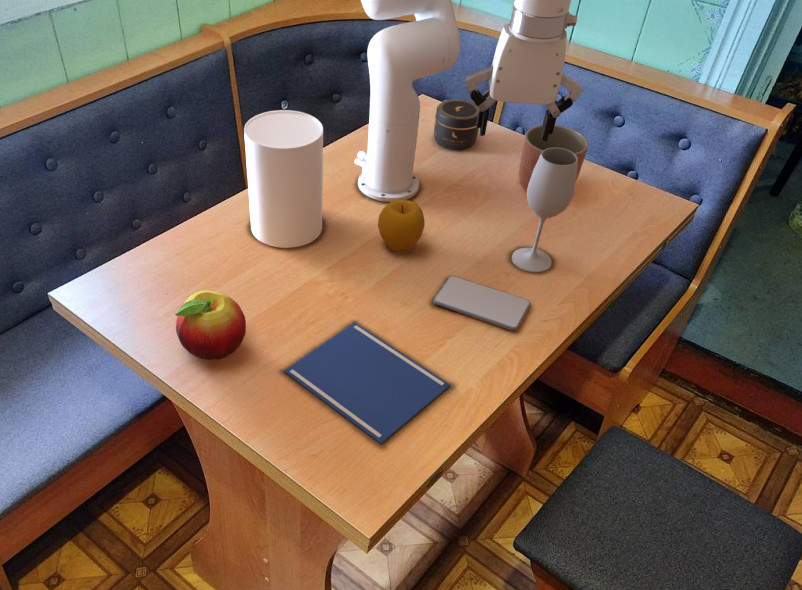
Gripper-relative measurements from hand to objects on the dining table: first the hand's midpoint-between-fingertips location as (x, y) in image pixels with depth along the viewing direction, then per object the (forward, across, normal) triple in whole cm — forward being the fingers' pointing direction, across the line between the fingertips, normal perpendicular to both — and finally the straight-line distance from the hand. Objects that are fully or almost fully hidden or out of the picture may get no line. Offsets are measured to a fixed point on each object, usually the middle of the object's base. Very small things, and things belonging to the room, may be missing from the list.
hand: (512, 134), depth 114 cm
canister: (+26, +38, -6) cm, 46 cm away
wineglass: (+26, -9, -2) cm, 27 cm away
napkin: (+25, +19, +32) cm, 45 cm away
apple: (+26, +16, -3) cm, 30 cm away
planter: (+26, -13, -28) cm, 40 cm away
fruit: (+26, +44, +28) cm, 58 cm away
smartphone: (+25, +1, +12) cm, 28 cm away
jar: (+26, +6, -44) cm, 52 cm away
